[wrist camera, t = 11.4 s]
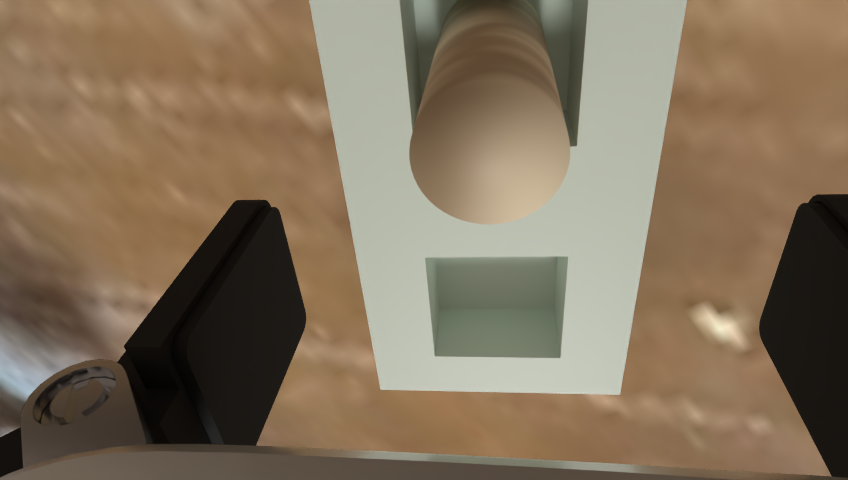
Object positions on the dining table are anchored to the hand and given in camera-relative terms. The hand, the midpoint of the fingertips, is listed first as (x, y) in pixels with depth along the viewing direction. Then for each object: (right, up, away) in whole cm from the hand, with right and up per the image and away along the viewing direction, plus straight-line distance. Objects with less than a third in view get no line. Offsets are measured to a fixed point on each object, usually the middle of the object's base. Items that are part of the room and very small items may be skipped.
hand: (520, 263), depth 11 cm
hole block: (+1, +4, +16) cm, 16 cm away
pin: (+1, +8, +12) cm, 14 cm away
